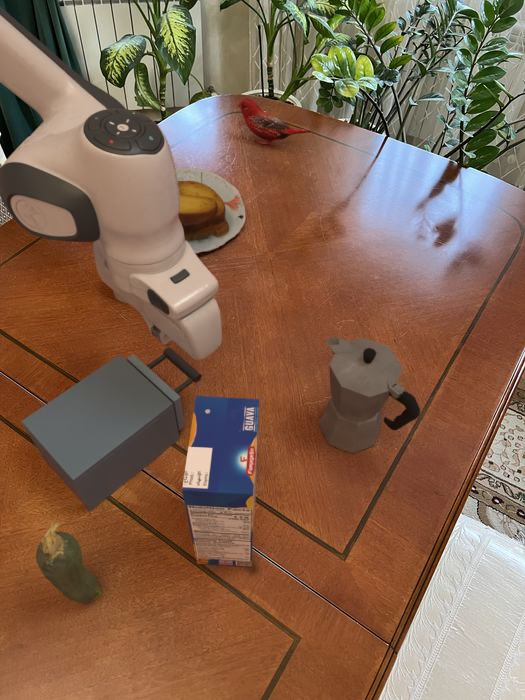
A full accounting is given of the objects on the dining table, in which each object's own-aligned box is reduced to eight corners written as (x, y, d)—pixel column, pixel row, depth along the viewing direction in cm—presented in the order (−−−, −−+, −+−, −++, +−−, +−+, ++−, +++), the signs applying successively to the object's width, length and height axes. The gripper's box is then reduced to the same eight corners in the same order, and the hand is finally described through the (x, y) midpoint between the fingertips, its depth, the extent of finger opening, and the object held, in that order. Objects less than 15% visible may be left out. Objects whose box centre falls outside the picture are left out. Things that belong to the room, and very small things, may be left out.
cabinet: (130, 392, 88) (119, 353, 80) (179, 439, 83) (173, 403, 76) (41, 456, 81) (20, 421, 73) (89, 512, 76) (72, 480, 69)
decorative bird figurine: (239, 134, 133) (239, 92, 125) (311, 153, 129) (315, 111, 121) (234, 140, 132) (233, 99, 124) (306, 159, 128) (310, 117, 120)
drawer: (167, 365, 90) (161, 333, 84) (212, 404, 86) (209, 374, 80) (59, 443, 81) (44, 414, 75) (103, 492, 77) (91, 465, 71)
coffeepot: (295, 416, 86) (305, 340, 72) (337, 382, 90) (355, 304, 76) (374, 487, 79) (402, 418, 65) (416, 446, 83) (451, 373, 69)
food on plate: (222, 170, 124) (222, 143, 119) (265, 242, 110) (266, 215, 105) (106, 194, 118) (100, 167, 113) (135, 274, 104) (130, 247, 99)
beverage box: (197, 565, 72) (181, 490, 55) (206, 484, 79) (196, 395, 62) (251, 568, 72) (253, 494, 55) (256, 486, 79) (259, 398, 62)
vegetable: (72, 617, 68) (20, 561, 52) (65, 582, 70) (13, 519, 55) (109, 601, 69) (69, 543, 53) (100, 568, 72) (59, 502, 56)
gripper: (70, 227, 67) (95, 307, 78) (184, 320, 59) (194, 395, 69) (114, 203, 70) (132, 284, 81) (229, 289, 61) (232, 366, 72)
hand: (162, 336), depth 75 cm, fingers closed
